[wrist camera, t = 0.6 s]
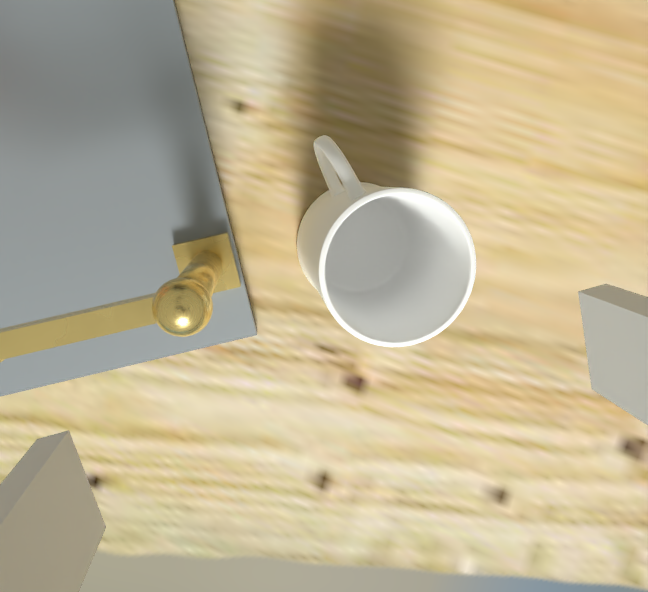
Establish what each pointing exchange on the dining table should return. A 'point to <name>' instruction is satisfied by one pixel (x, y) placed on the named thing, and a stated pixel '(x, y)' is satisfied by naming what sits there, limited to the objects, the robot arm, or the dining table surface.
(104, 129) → the board
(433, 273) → the mug
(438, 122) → the dining table surface
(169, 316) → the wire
